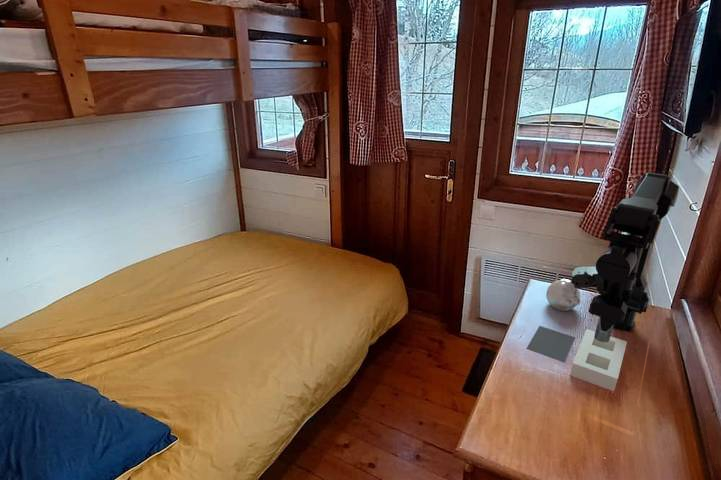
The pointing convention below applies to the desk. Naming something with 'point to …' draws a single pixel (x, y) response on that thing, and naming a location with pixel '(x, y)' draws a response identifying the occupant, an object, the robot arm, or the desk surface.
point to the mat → (551, 343)
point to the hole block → (599, 360)
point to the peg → (602, 333)
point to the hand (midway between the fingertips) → (604, 327)
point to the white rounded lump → (563, 295)
